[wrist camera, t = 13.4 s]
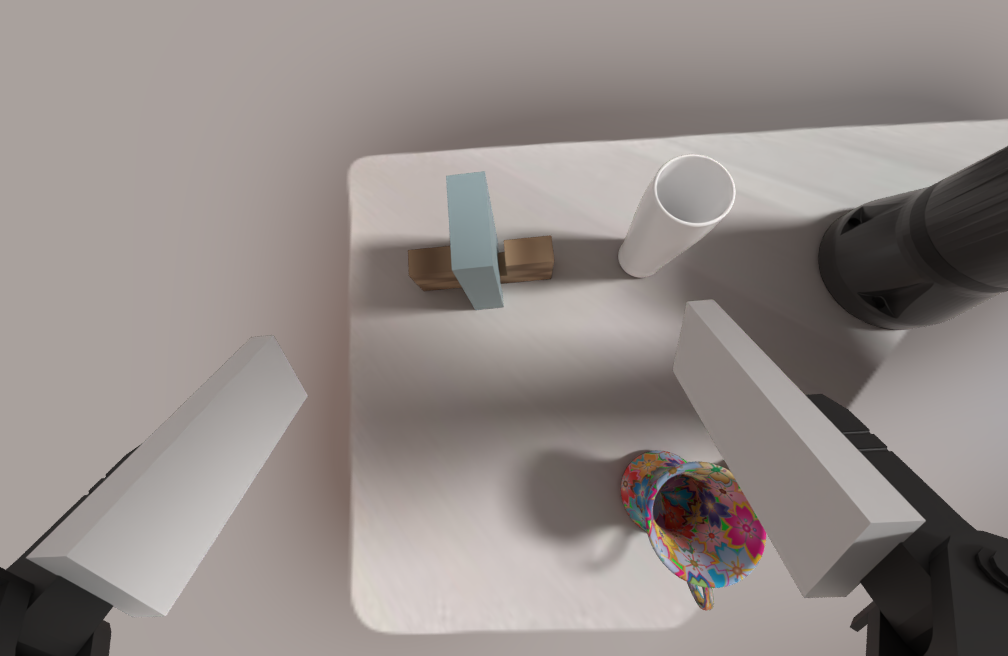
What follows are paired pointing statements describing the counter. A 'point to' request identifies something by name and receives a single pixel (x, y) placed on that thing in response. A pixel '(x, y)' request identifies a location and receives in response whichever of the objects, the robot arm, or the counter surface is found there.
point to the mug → (694, 520)
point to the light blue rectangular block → (474, 239)
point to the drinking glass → (676, 212)
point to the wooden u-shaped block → (515, 264)
